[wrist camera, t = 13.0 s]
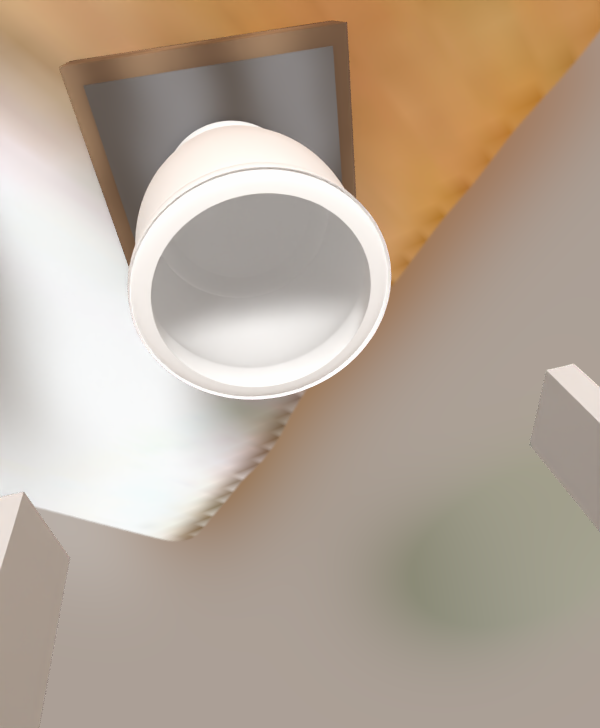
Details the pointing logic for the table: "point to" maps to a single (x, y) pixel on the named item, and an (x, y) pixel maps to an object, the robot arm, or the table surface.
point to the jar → (254, 265)
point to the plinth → (210, 104)
